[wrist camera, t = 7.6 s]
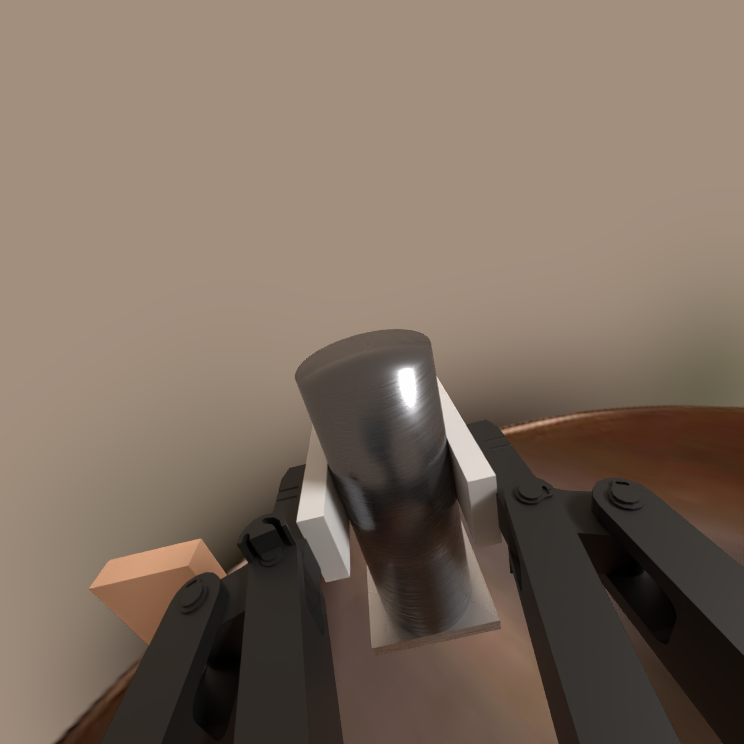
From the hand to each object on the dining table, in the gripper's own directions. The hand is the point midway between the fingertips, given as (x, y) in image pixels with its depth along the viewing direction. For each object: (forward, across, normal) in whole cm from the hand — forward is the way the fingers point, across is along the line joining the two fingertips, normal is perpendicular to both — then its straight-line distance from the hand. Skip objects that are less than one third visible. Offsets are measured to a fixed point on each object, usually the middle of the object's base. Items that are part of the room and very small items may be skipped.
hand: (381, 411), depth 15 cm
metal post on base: (-1, 0, -7) cm, 7 cm away
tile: (+3, -19, -18) cm, 26 cm away
